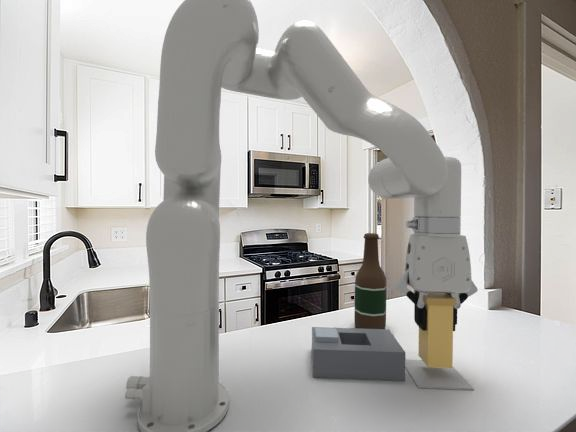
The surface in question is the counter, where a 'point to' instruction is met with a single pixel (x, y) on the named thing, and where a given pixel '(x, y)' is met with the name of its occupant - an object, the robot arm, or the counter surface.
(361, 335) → the grey block with hole
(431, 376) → the mat
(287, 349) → the counter surface
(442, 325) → the plug
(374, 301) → the beer bottle
